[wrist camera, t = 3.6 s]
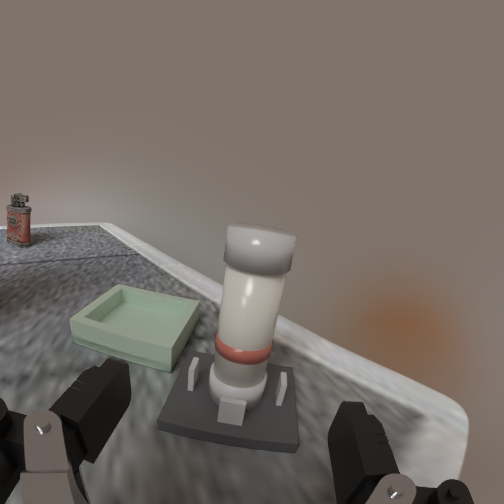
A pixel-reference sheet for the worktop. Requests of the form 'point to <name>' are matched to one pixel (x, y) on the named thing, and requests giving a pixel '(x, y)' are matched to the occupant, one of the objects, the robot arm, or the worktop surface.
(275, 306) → the fuse
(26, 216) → the lighter
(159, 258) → the worktop surface
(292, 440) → the grey base plate
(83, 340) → the tray
